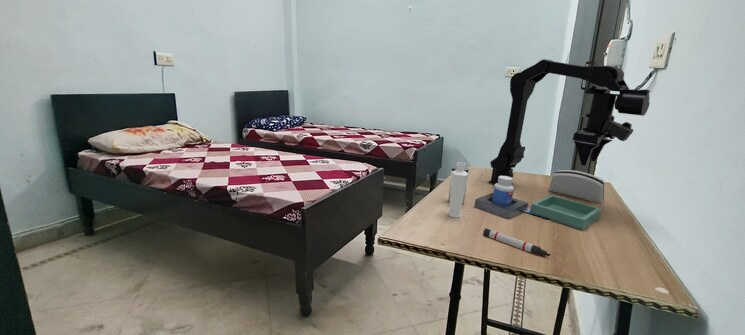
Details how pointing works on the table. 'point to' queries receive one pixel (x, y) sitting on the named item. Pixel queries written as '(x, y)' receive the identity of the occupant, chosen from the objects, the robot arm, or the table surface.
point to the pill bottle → (503, 191)
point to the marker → (515, 242)
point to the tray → (566, 211)
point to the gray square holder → (501, 206)
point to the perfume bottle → (457, 190)
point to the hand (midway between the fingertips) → (588, 163)
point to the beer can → (454, 170)
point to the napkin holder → (578, 185)
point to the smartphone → (532, 213)
